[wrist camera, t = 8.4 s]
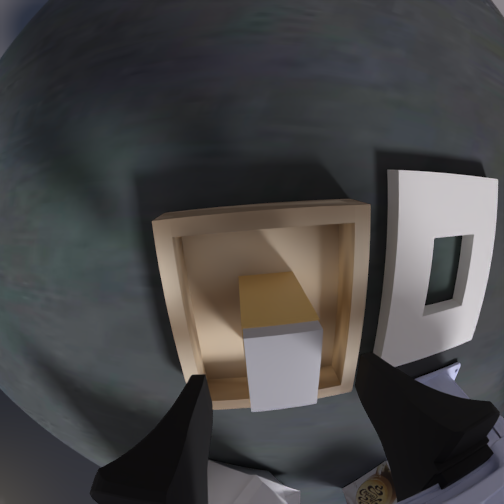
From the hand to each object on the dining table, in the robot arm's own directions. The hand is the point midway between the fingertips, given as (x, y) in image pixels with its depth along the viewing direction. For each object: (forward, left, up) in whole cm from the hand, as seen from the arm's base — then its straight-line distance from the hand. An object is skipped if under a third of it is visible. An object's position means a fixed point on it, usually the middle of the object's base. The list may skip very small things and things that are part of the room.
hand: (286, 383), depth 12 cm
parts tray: (0, 0, -8) cm, 8 cm away
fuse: (0, 0, -7) cm, 7 cm away
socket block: (+1, -15, -8) cm, 17 cm away
